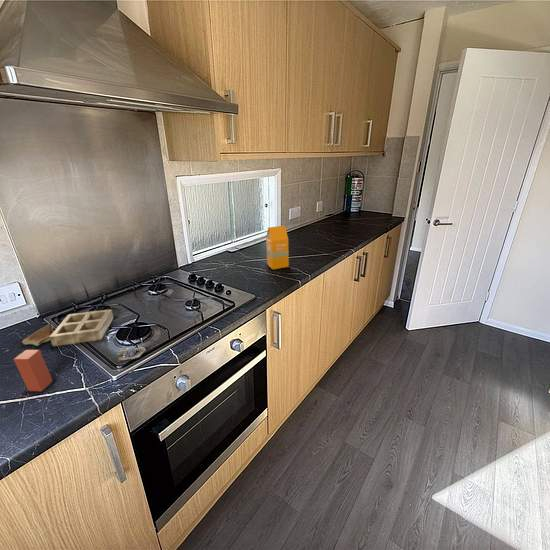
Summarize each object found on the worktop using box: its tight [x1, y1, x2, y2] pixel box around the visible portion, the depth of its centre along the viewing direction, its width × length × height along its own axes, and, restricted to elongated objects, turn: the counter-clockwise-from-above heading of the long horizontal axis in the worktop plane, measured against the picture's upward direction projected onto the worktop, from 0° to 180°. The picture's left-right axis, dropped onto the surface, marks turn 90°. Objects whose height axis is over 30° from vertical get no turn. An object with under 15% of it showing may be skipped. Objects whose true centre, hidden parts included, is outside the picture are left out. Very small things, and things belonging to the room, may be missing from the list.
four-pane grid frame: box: [49, 308, 114, 347], centre depth 97 cm, size 14×14×4 cm
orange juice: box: [265, 225, 290, 270], centre depth 144 cm, size 8×9×20 cm
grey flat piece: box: [115, 346, 147, 362], centre depth 85 cm, size 7×8×2 cm
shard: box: [21, 321, 54, 347], centre depth 95 cm, size 11×8×2 cm
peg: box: [13, 349, 53, 392], centre depth 73 cm, size 4×4×10 cm
